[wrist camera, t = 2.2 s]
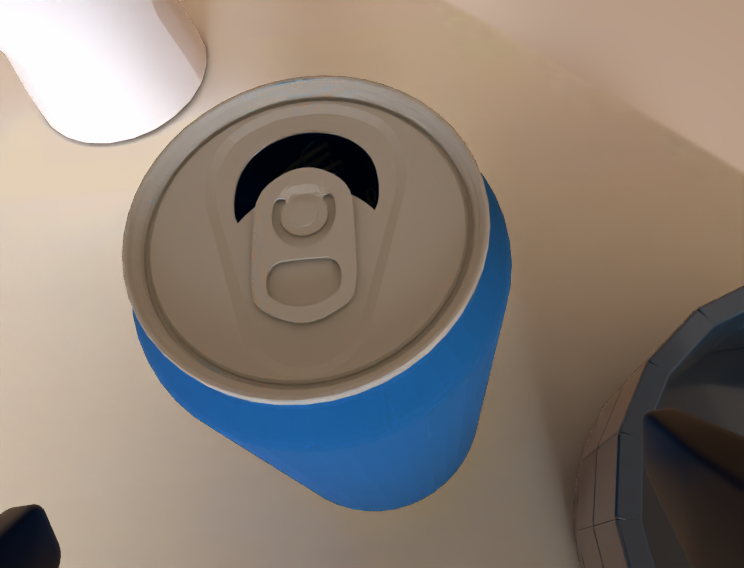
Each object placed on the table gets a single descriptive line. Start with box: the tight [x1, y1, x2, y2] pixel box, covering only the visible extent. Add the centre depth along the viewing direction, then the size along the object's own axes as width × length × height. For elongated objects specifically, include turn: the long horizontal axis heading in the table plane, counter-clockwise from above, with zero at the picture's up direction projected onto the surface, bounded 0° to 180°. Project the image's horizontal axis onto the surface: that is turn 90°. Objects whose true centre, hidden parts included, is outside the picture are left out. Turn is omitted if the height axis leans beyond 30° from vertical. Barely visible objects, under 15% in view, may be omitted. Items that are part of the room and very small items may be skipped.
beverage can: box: [122, 76, 512, 511], centre depth 15 cm, size 6×6×12 cm
